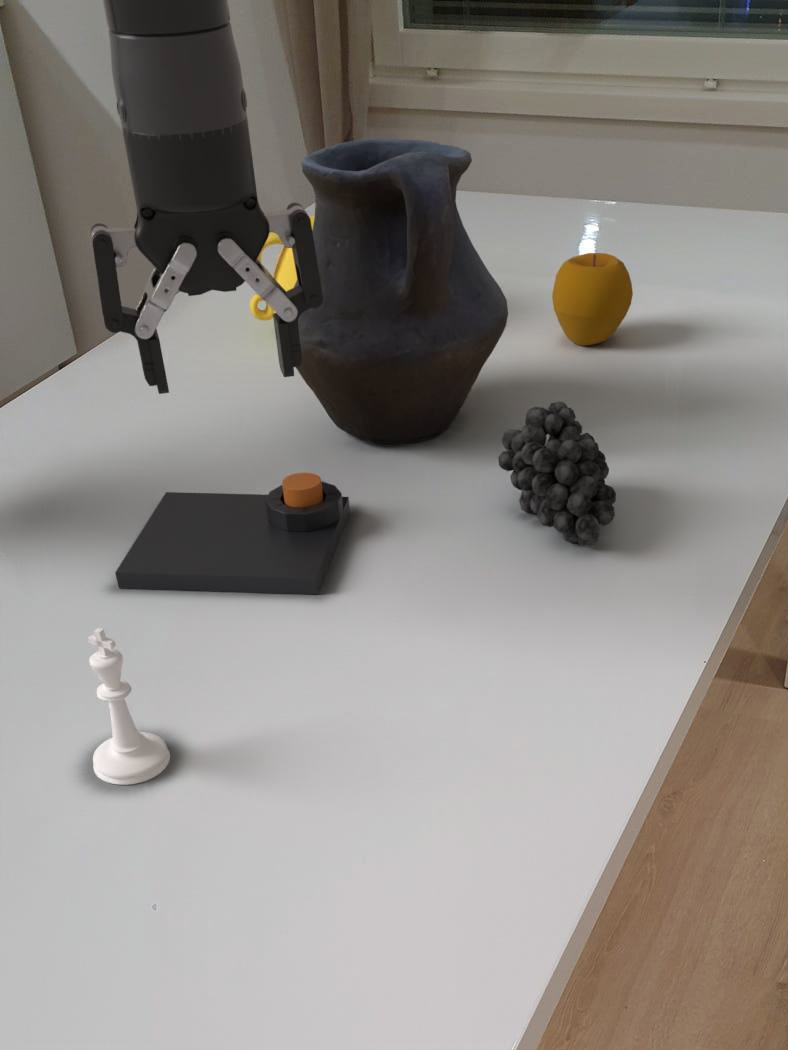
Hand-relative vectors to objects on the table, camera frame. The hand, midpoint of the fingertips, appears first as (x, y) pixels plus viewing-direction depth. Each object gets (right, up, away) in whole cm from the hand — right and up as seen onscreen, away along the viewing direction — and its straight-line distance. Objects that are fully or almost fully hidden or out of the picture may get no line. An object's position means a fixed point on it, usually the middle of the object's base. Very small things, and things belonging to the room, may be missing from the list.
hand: (225, 381), depth 88 cm
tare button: (+3, -3, +18) cm, 19 cm away
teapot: (+1, +28, +57) cm, 64 cm away
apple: (+29, +23, +51) cm, 63 cm away
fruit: (+24, -5, +20) cm, 32 cm away
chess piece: (-5, -26, -4) cm, 27 cm away
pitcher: (+10, +9, +35) cm, 38 cm away
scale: (-2, -7, +18) cm, 19 cm away
